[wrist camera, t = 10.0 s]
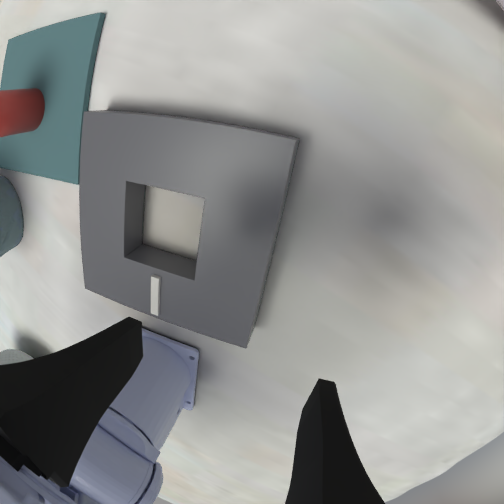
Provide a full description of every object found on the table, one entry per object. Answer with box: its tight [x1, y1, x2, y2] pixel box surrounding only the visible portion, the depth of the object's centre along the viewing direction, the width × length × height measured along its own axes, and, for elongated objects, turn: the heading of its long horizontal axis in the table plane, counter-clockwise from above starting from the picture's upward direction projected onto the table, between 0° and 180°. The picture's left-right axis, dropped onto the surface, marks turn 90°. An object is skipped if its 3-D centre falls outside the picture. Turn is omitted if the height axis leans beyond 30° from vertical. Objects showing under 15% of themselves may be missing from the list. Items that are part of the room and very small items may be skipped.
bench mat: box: [0, 13, 105, 185], centre depth 19 cm, size 14×14×1 cm
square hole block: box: [79, 110, 299, 348], centre depth 20 cm, size 14×14×3 cm
